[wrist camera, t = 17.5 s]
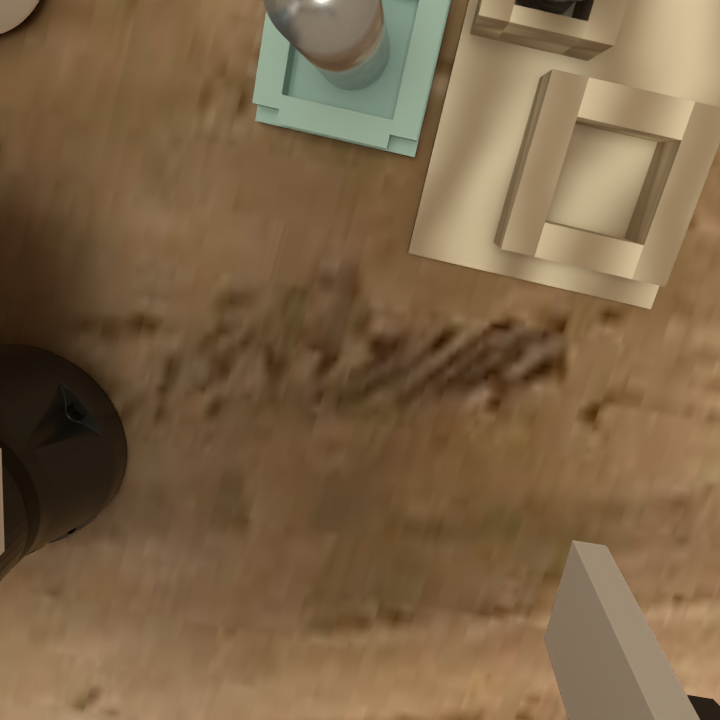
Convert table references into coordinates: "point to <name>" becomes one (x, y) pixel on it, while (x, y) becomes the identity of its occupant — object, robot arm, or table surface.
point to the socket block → (575, 143)
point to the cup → (14, 12)
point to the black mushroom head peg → (548, 5)
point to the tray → (365, 106)
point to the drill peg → (336, 37)
